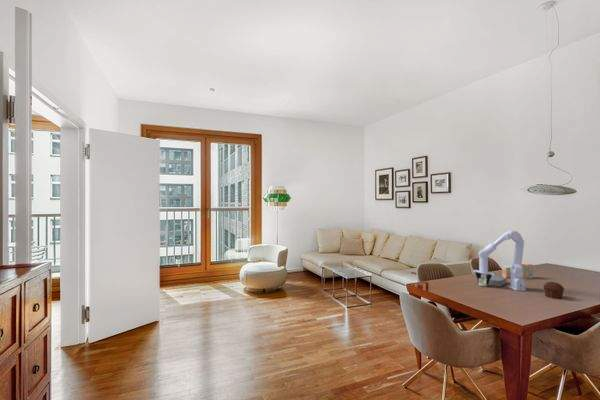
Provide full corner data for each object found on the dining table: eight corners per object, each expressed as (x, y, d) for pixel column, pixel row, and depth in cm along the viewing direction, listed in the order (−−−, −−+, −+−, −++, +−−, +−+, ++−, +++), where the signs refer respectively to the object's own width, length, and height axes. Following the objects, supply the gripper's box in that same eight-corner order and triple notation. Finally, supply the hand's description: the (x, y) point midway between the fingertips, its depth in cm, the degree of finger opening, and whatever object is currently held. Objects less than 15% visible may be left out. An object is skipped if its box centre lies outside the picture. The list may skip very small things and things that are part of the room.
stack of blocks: (506, 278, 259) (506, 264, 259) (501, 276, 265) (501, 262, 265) (532, 278, 257) (532, 264, 257) (527, 276, 263) (527, 262, 263)
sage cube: (488, 285, 236) (488, 278, 236) (485, 286, 233) (485, 280, 233) (481, 283, 240) (481, 277, 240) (478, 285, 236) (478, 278, 236)
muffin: (566, 300, 201) (566, 285, 201) (545, 298, 207) (545, 283, 206) (561, 295, 211) (561, 281, 211) (541, 293, 217) (541, 279, 217)
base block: (506, 282, 244) (506, 277, 244) (499, 286, 234) (498, 281, 234) (484, 278, 257) (484, 274, 257) (476, 282, 247) (476, 277, 247)
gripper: (495, 266, 233) (496, 284, 233) (475, 263, 244) (475, 280, 244) (492, 268, 229) (492, 286, 229) (471, 265, 240) (472, 282, 240)
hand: (483, 283), depth 236 cm, fingers closed on sage cube, 5 cm apart
